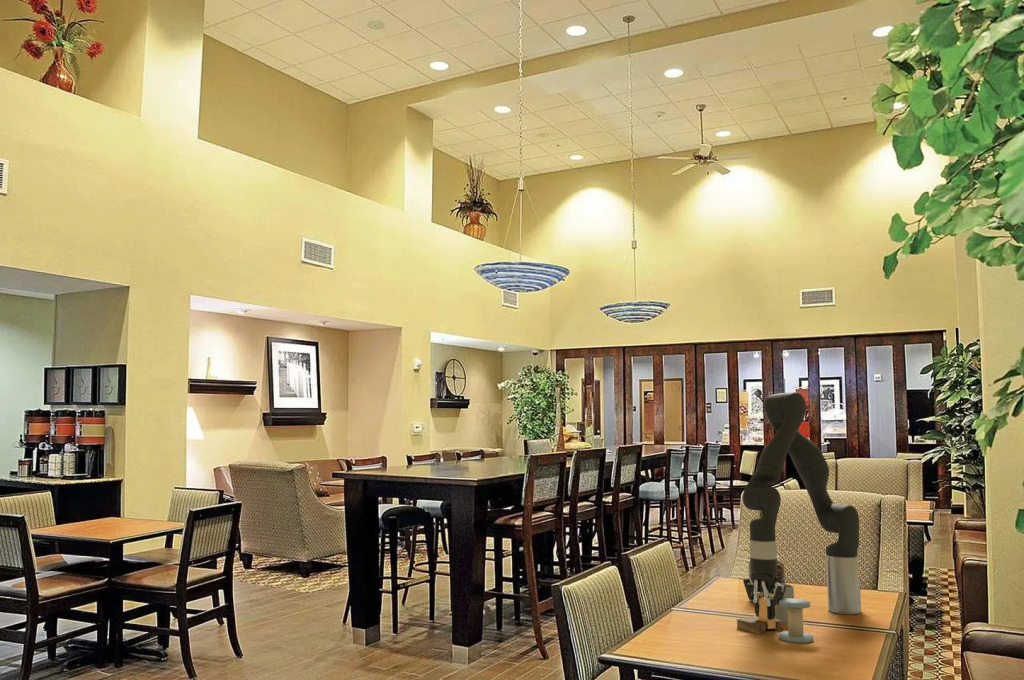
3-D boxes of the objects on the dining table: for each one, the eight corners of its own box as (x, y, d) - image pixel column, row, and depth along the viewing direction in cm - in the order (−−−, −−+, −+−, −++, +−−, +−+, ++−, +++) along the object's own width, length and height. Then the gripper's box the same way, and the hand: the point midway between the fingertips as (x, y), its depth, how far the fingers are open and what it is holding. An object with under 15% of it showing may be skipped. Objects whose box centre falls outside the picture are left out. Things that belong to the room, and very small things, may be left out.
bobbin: (792, 633, 230) (791, 596, 231) (820, 640, 222) (819, 602, 223) (771, 637, 225) (770, 600, 226) (799, 645, 217) (798, 606, 218)
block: (765, 625, 236) (766, 597, 237) (775, 628, 233) (776, 599, 234) (757, 626, 234) (758, 597, 235) (767, 628, 231) (768, 599, 232)
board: (760, 623, 241) (759, 615, 241) (782, 629, 234) (782, 620, 235) (737, 628, 235) (736, 619, 236) (759, 634, 229) (759, 624, 229)
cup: (796, 623, 241) (795, 589, 242) (767, 622, 243) (766, 587, 244) (792, 617, 249) (791, 583, 250) (764, 616, 251) (763, 582, 252)
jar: (790, 600, 273) (788, 554, 275) (781, 607, 263) (779, 559, 265) (754, 596, 280) (753, 551, 281) (744, 602, 270) (743, 556, 271)
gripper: (792, 558, 232) (794, 621, 230) (752, 552, 243) (754, 611, 241) (775, 560, 227) (777, 624, 226) (735, 554, 239) (736, 614, 237)
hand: (765, 617), depth 234 cm, fingers closed on block, 3 cm apart
